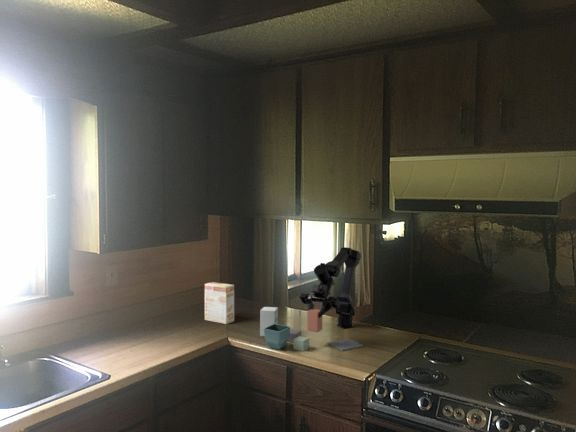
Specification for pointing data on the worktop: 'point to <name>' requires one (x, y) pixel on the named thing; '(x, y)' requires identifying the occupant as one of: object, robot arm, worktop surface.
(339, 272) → the robot arm
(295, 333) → the light gray block
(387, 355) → the worktop surface
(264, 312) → the supplement box
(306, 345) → the sage block
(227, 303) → the coffeecake box
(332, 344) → the slate mat
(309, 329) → the brick-red block
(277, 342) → the flower pot
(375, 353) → the worktop surface
